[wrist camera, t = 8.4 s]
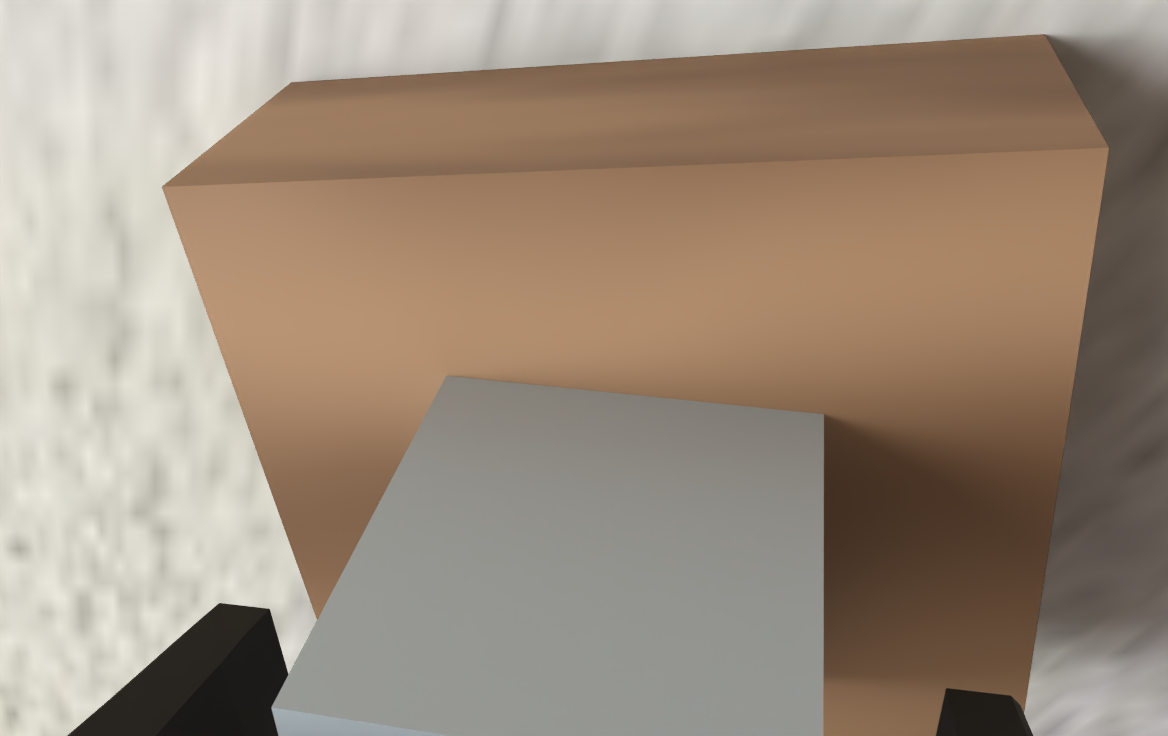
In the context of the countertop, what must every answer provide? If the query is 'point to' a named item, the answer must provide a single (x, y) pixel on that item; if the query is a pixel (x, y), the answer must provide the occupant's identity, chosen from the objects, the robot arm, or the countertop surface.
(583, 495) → the slate block
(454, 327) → the walnut block
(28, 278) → the countertop surface
